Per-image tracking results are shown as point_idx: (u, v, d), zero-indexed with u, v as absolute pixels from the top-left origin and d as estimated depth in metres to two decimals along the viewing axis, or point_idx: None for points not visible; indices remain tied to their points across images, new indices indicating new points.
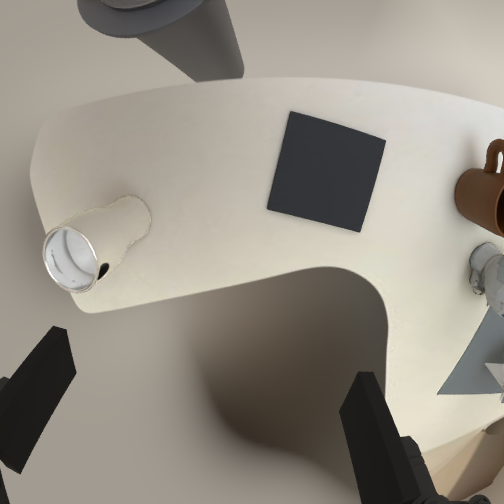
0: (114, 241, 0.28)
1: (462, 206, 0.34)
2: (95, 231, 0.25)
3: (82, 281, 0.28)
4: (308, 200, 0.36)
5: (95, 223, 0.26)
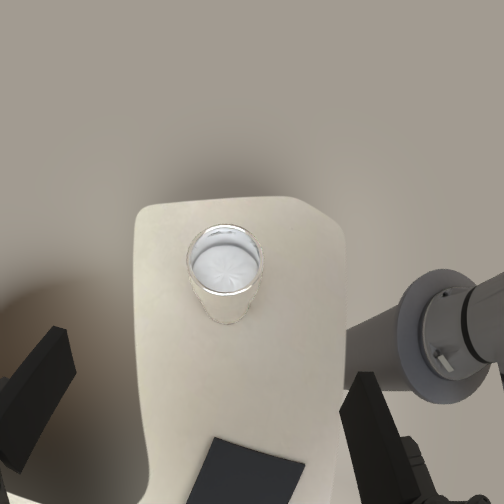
0: (226, 307, 0.28)
1: None
2: (245, 296, 0.27)
3: (192, 256, 0.29)
4: (219, 473, 0.31)
5: (251, 294, 0.28)
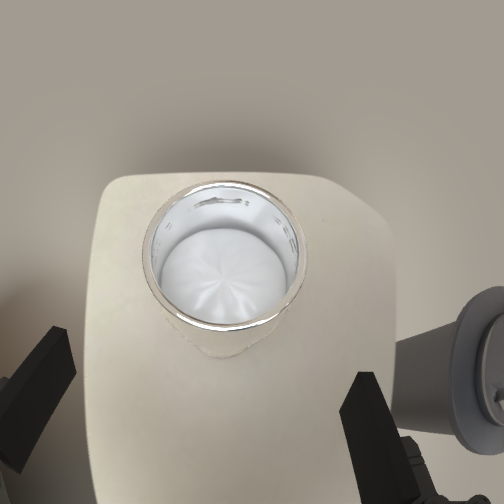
0: (222, 348, 0.14)
1: None
2: (263, 330, 0.13)
3: (161, 242, 0.14)
4: None
5: (273, 326, 0.14)
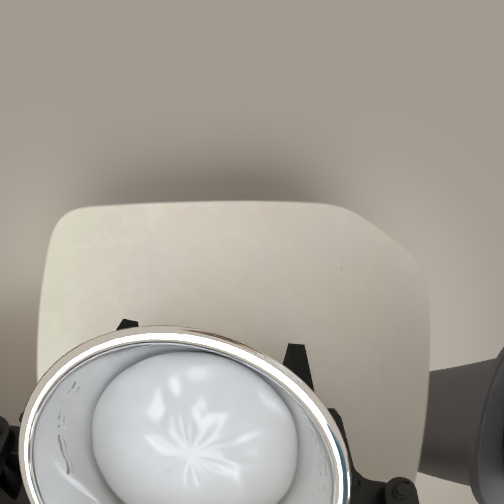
0: None
1: None
2: None
3: (72, 406, 0.06)
4: None
5: None
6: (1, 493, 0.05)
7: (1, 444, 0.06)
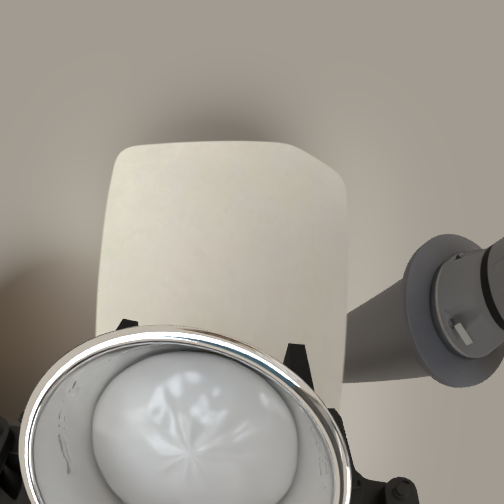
0: None
1: None
2: None
3: (72, 406, 0.06)
4: None
5: None
6: (1, 493, 0.05)
7: (1, 444, 0.06)
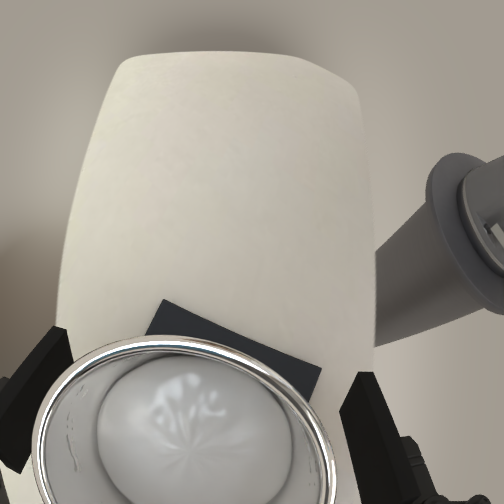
0: None
1: None
2: None
3: (79, 408, 0.07)
4: None
5: None
6: None
7: None
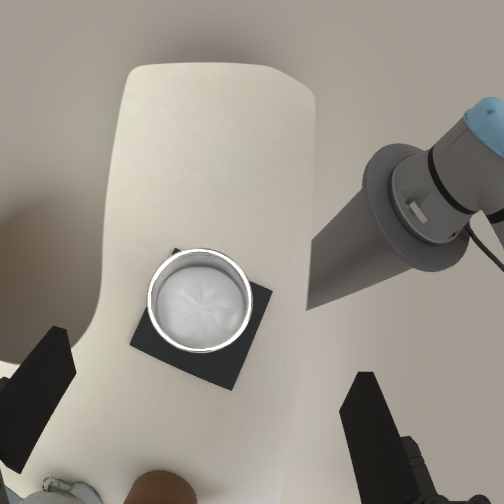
0: None
1: (150, 476, 0.25)
2: (225, 346, 0.20)
3: (156, 285, 0.21)
4: None
5: None
6: None
7: None
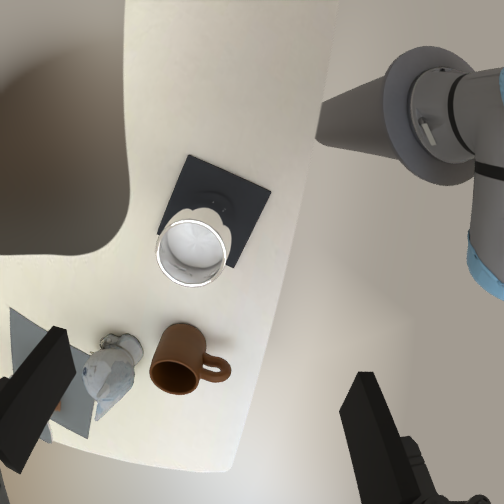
0: None
1: (174, 329, 0.47)
2: None
3: None
4: (190, 192, 0.41)
5: (218, 269, 0.31)
6: None
7: None
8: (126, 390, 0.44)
